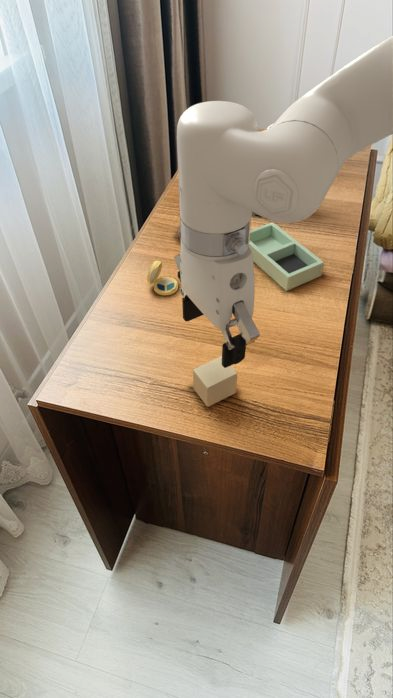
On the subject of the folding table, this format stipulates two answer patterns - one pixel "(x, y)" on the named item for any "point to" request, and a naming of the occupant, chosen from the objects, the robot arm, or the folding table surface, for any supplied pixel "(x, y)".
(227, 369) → the beige block
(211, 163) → the robot arm
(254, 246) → the pad tray
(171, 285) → the eyeshadow
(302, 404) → the folding table surface
